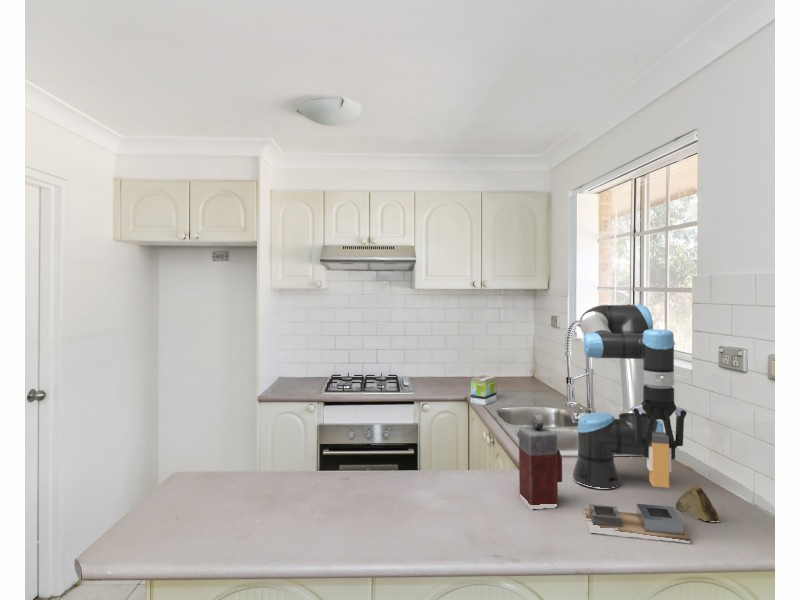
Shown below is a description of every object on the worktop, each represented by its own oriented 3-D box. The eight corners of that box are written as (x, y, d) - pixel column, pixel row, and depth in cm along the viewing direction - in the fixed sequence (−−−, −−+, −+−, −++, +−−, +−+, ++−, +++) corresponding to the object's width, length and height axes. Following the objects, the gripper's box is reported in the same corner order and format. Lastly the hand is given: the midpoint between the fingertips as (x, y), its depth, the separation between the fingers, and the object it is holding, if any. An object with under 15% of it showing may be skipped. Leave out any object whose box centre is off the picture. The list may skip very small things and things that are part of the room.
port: (636, 515, 138) (636, 503, 138) (672, 518, 136) (672, 506, 136) (644, 531, 129) (644, 518, 129) (683, 535, 127) (683, 522, 127)
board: (583, 513, 143) (583, 500, 143) (676, 522, 137) (676, 508, 137) (589, 533, 132) (589, 519, 132) (690, 544, 125) (690, 529, 125)
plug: (649, 480, 135) (649, 431, 134) (664, 481, 134) (664, 432, 133) (653, 486, 131) (652, 435, 130) (669, 487, 130) (668, 436, 129)
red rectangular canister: (565, 507, 148) (564, 417, 147) (530, 510, 146) (529, 419, 145) (551, 494, 156) (550, 410, 156) (519, 497, 155) (518, 412, 154)
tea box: (485, 405, 275) (485, 380, 274) (470, 403, 281) (469, 378, 280) (497, 400, 287) (496, 376, 286) (482, 398, 293) (481, 374, 292)
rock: (664, 500, 146) (682, 510, 136) (679, 476, 147) (698, 485, 137) (694, 521, 145) (715, 534, 136) (709, 498, 146) (731, 509, 136)
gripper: (627, 387, 130) (628, 472, 131) (698, 389, 126) (698, 477, 126) (622, 382, 137) (622, 462, 138) (688, 384, 133) (688, 466, 134)
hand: (658, 469), depth 132 cm, fingers closed on plug, 4 cm apart
